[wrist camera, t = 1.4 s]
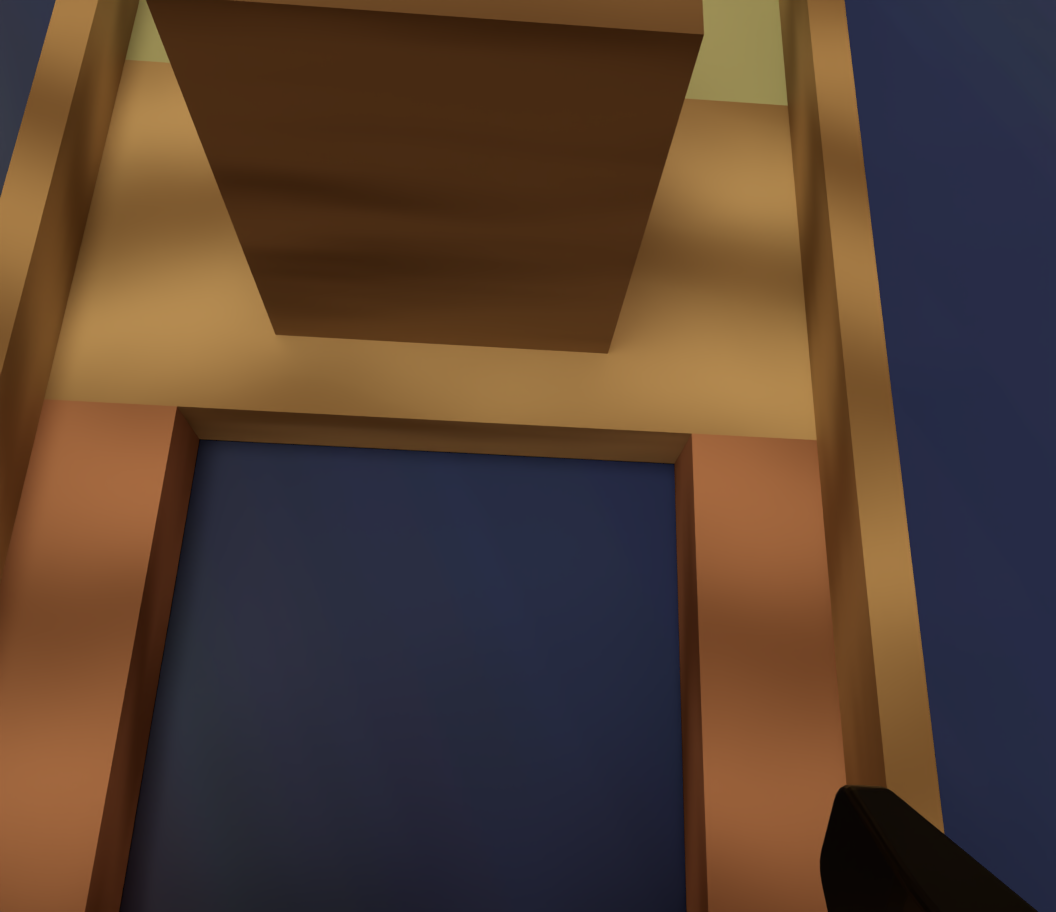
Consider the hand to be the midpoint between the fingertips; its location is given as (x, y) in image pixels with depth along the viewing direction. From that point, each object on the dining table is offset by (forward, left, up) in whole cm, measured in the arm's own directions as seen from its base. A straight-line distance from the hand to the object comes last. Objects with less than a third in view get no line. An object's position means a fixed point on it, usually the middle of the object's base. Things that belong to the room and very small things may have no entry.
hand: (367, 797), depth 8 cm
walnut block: (+10, +11, -11) cm, 18 cm away
